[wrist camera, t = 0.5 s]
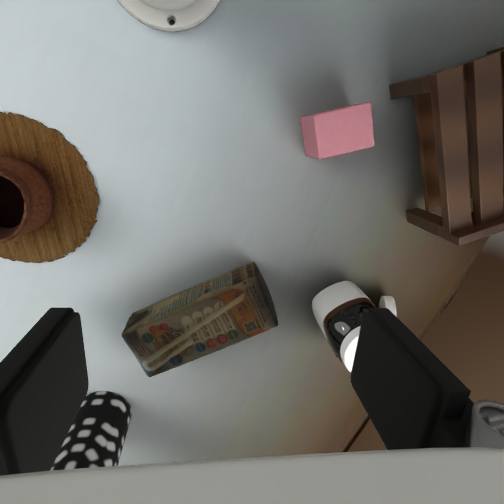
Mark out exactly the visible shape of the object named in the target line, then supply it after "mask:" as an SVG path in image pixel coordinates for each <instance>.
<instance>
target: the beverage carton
mask: <svg viewBox="0 0 504 504" xmlns="http://www.w3.org/2000/svg"><path fill="white" fill-rule="evenodd" d="M276 326H278V320H277V315H276V311H275V307H274V303H273V301H272V298H271V295H270V292H269V290H268V288H267V285H266V283H265V281H264V279H263V277H262V275H261V273H260V271H259V269H258V267H257V266H256V264H255V262H252V263H250V264H247V265H244V266H241V267H239V268H236V269H234V270H231V271H229V272H227V273H224V274H222V275H220V276H217V277H215V278H213V279H210V280H208V281H205V282H203V283H201V284H198V285H196V286H194V287H192V288H189V289H187V290H185V291H182V292H180V293H178V294H175V295H173V296H170V297H168V298H166V299H164V300H161V301H159V302H157V303H155V304H152V305H150V306H148V307H146V308H144V309H141V310H139V311H137V312H134V313H132V315H131V317H129V320H128V322H127V324H126V327H125V329H124V331H123V333H122V337H123V339H124V341H125V342H126V344H127V345H128V346H129V348H130V349H131V351H132V352H133V354H134V355H135V357H136V359H137V360H138V362H139V363H140V365H141V367H142V368H143V370H144V371H145V373H146V374H147V376H148V377H152V376H154V375H157V374H159V373H162V372H165V371H167V370H169V369H172V368H175V367H178V366H180V365H183V364H185V363H188V362H190V361H193V360H195V359H198V358H200V357H202V356H205V355H208V354H210V353H213V352H215V351H218V350H221V349H223V348H225V347H228V346H230V345H233V344H235V343H238V342H240V341H242V340H245V339H247V338H250V337H252V336H255V335H257V334H259V333H262V332H264V331H267V330H269V329H271V328H273V327H276Z"/></svg>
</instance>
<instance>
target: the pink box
mask: <svg viewBox="0 0 504 504" xmlns="http://www.w3.org/2000/svg"><path fill="white" fill-rule="evenodd" d="M300 121H301V127H302V134H303V140H304V147H305V153H306V156H309V157H313V158H317V159H323V158H327V157H331V156H336V155H340V154H344V153H348V152H352V151H356V150H361V149H365V148H369V147H373V146H374V133H373V120H372V107H371V102H367V103H361V104H356V105H350V106H346V107H342V108H337V109H333V110H329V111H325V112H320V113H316V114H312V115H308V116H303V117H300Z"/></svg>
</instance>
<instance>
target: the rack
mask: <svg viewBox="0 0 504 504" xmlns="http://www.w3.org/2000/svg"><path fill="white" fill-rule="evenodd" d="M389 87H390V95H391V99H394V98H400V97H406V96H412V95H413V100H414V109H415V118H416V127H417V136H418V145H419V154H420V162H421V171H422V180H423V189H424V198H425V207H426V211H424V210H422V209H419V208H414V209H411V210H408V211H406V213H407V221H408V222H410V223H412V224H414V225H416V226H418V227H420V228H422V229H424V230H427V231H429V232H431V233H433V234H435V235H437V236H440V237H442V238H444V239H446V240H448V241H450V242H452V243H454V244H457V245H459V246H460V245H463V244H466V243H469V242H472V241H475V240H478V239H481V238H484V237H487V236H490V235H493V234H496V233H499V232H502V231H504V202H503V196H504V47H501V48H498V49H495V50H492V51H489V52H487V55H486V56H483V57H480V58H477V59H474V60H471V61H468V62H465V63H462V64H459V65H456V66H453V67H450V68H447V69H444V70H441V71H438V72H435V73H431V74H427V75H423V76H419V77H415V78H412V79H408V80H404V81H400V82H397V83H394V84H391V85H389ZM472 197H473V212H471V198H472ZM440 208H441V209H442V217H440V216H438V215H435V214H432V213H430V212H431V211H434V210H437V209H440ZM427 211H428V212H427Z"/></svg>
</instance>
